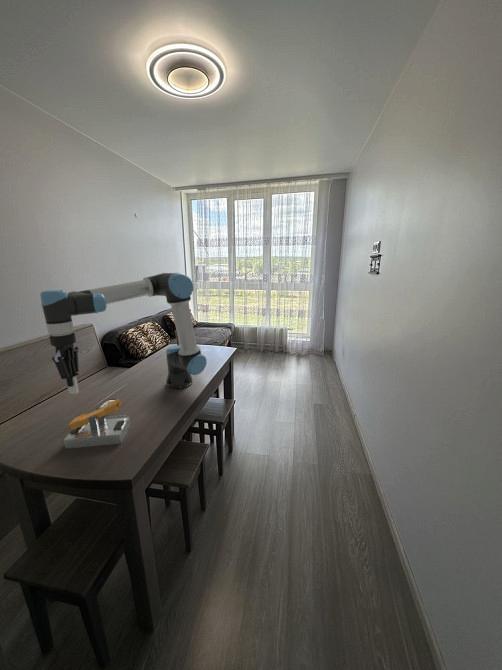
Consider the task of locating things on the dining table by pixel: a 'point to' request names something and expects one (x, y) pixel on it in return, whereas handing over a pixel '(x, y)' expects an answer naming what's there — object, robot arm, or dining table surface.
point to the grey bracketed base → (98, 432)
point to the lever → (95, 414)
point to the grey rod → (115, 417)
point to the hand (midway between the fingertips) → (74, 392)
